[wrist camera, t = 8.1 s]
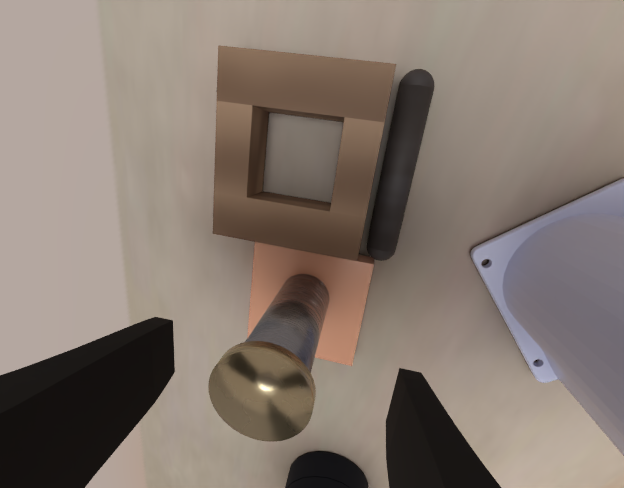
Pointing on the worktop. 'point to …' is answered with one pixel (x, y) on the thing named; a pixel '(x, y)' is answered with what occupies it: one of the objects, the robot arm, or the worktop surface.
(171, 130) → the worktop surface
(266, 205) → the clamp block
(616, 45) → the worktop surface
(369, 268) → the tile pad
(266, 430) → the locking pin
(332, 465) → the black water bottle
